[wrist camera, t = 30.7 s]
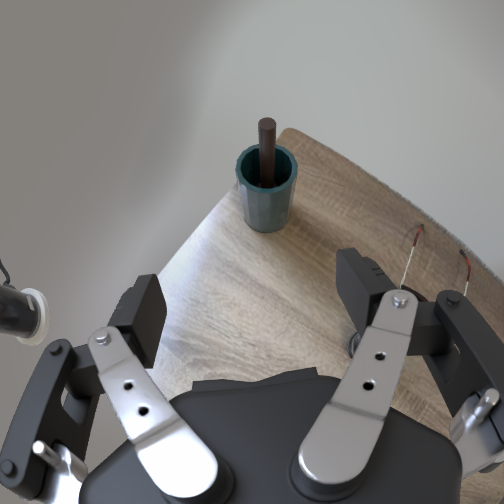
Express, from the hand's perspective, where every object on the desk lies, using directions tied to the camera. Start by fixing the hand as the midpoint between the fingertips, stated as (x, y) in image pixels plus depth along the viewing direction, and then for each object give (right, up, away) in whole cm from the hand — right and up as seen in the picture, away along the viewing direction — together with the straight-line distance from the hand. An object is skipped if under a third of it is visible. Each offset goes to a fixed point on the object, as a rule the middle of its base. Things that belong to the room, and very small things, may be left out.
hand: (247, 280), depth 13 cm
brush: (+3, +9, +39) cm, 40 cm away
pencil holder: (+3, +8, +39) cm, 40 cm away
